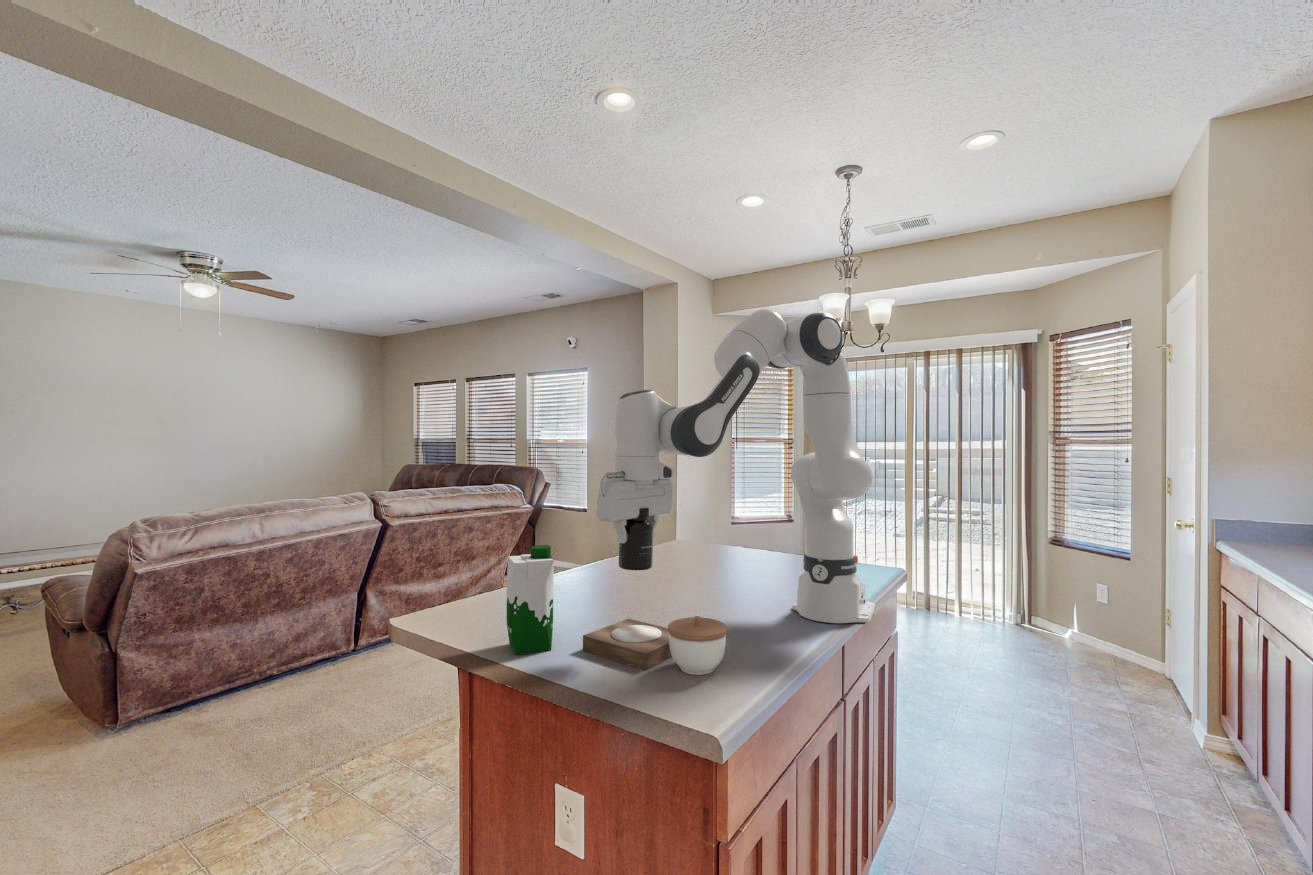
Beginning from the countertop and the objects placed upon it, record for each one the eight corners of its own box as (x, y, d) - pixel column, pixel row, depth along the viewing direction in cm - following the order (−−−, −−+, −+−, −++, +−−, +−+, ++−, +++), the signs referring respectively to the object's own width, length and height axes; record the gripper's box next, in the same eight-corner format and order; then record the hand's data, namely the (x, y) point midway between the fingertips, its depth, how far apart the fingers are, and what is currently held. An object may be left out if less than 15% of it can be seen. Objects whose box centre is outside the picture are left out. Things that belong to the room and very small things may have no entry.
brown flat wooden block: (628, 632, 123) (628, 617, 123) (689, 648, 114) (689, 631, 114) (582, 650, 112) (582, 633, 112) (646, 670, 103) (646, 651, 103)
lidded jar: (725, 682, 97) (725, 627, 97) (663, 678, 99) (663, 624, 99) (728, 659, 108) (728, 609, 108) (672, 655, 110) (672, 607, 110)
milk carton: (557, 650, 112) (557, 549, 112) (510, 657, 109) (510, 552, 109) (547, 637, 120) (547, 542, 121) (503, 643, 117) (504, 545, 117)
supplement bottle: (649, 571, 109) (650, 509, 110) (615, 570, 110) (616, 508, 110) (655, 565, 116) (656, 506, 116) (622, 563, 117) (623, 505, 117)
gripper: (613, 473, 103) (613, 549, 103) (678, 469, 120) (678, 535, 119) (589, 472, 107) (588, 545, 107) (655, 468, 123) (654, 532, 123)
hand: (636, 540), depth 113 cm, fingers closed on supplement bottle, 6 cm apart
